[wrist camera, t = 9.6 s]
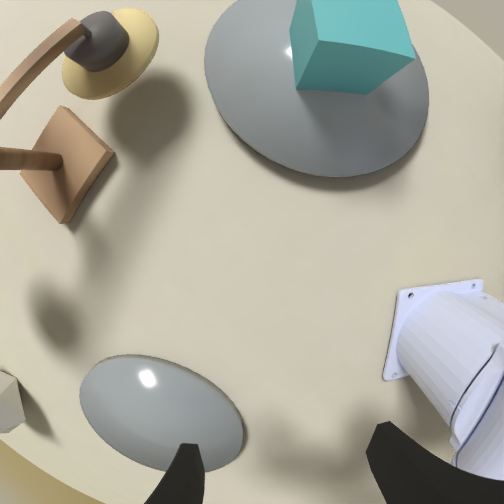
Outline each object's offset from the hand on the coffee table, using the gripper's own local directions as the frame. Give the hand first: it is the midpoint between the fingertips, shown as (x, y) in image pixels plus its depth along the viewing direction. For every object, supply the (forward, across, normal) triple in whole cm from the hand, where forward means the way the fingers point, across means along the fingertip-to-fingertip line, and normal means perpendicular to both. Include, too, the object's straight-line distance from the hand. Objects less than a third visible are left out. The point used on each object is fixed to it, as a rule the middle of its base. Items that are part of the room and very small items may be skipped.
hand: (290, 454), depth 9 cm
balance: (+11, +14, -13) cm, 22 cm away
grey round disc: (+10, +9, +9) cm, 17 cm away
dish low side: (+10, -4, -18) cm, 21 cm away
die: (+12, +30, +10) cm, 34 cm away
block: (+9, -4, -18) cm, 20 cm away
